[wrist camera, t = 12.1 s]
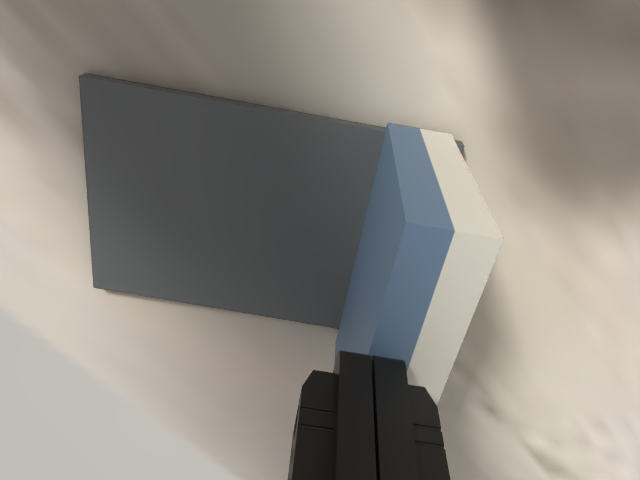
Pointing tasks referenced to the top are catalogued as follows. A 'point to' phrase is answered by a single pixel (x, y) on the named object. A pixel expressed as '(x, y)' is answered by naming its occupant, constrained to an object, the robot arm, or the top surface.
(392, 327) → the card deck
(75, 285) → the top surface
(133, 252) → the mat
